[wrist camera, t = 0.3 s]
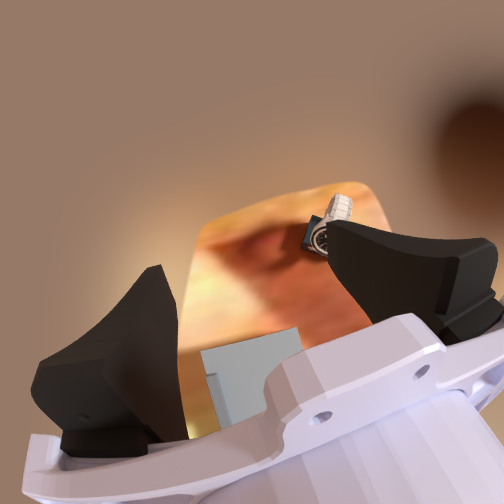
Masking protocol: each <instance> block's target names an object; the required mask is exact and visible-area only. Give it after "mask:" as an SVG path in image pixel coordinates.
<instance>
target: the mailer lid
mask: <svg viewBox="0 0 504 504" xmlns="http://www.w3.org/2000/svg"><path fill="white" fill-rule="evenodd" d="M302 350H303V348H302V344H301V341H300V337H299V333H298V330H297V327H294V328H291V329H287V330H284V331H280V332H276V333H273V334H269V335H265V336H261V337H257V338H254V339H250V340H246V341H242V342H237V343H233V344H229V345H225V346H220V347H216V348H212V349H207V350H202V351H200V353H201V357H202V360H203V364H204V368H205V372H206V375H207V376H206V381H207V384H208V388H209V391H210V395H211V398H212V402H213V405H214V408H215V412H216V415H217V418H218V421H219V425H220V428H221V429H224V428H226V427H229V426H231V425H234V424H236V423H238V422H241V421H243V420H245V419H248V418H250V417H252V416H254V415H257V414H259V413H261V412H263V411H265V410H267V409H266V401H265V397H264V394H263V389H264V384H265V379H266V377H267V376H268V375H269V374H270V373H271V372H272V371H273V370H274V369H275V368H276V367H277V366H278V364H279V363H280V362H281V361H282V360H284V359H286V358H288V357H290V356H292V355H294V354H296V353H298V352H300V351H302Z"/></svg>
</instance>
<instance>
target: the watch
mask: <svg viewBox="0 0 504 504" xmlns="http://www.w3.org/2000/svg"><path fill="white" fill-rule="evenodd" d="M351 211H352V199H351V198H349V197H346V196H343V195H341V194H338V193H336V194H335V195H334V197H332V199H331V201H330V203H329V206H328V208H327V209H326V211H325V216H324V218H320V217H317V216H315V215H312V217H311V219H310V221H309V224H308V227H307V230H306V233H305V236H304V239H303V242H302V245H301V249H304V250H307V251H310V252H313V253H315V254H318V255H321V256H324V257H327V258H328V254H327V235H326V222H329V221H333V220H338V219H339V220H346V221H349V220H350V216H351Z"/></svg>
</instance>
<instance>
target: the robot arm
mask: <svg viewBox="0 0 504 504" xmlns="http://www.w3.org/2000/svg"><path fill="white" fill-rule="evenodd" d="M326 235H327V254H328V264H329V265H330V267H331V269H332V270H333V272H334V274H335V275H336V277H337V279H338V280H339V281H340V282H341V284H342V285H343V286H344V287H345V288H346V290H347V291H348V292H349V293H350V294H351V296H352V297H353V298H354V299H355V300H356V302H357V303H358V304H359V305H360V307H361V308H362V309H363V310H364V312H365V313H366V314H367V316H368V317H369V318H370V320H371V322H372V323H373V325H371V326H369V327H366V328H364V329H361V330H358V331H356V332H353V333H351V334H348V335H345V336H343V337H340V338H337V339H334V340H331V341H329V342H326V343H323V344H320V345H317V346H314V347H311V348H308V349H305V350H302V351H300V352H298V353H296V354H294V355H292V356H290V357H288V358H286V359H284V360H282V361H281V362H280V363H279V364H278V366H277V367H276V368H275V369H274V370H273V371H272V372H271V373H270V374H269V375H268V376H267V377H266V379H265V384H264V389H263V394H264V397H265V401H266V409H267V410H265V411H263V412H261V413H259V414H257V415H254V416H252V417H250V418H248V419H245V420H243V421H241V422H238V423H236V424H234V425H231V426H229V427H226V428H224V429H221V430H219V431H216V432H214V433H211V434H209V435H206V436H203V437H201V438H195V439H189V436H188V432H187V427H186V422H185V417H184V412H183V407H182V401H181V394H180V388H179V380H178V370H177V346H178V318H177V309H176V302H175V300H174V297H173V295H172V292H171V290H170V287H169V284H168V282H167V279H166V276H165V274H164V271H163V269H162V266H161V265H156V266H152V267H149V268H147V269H146V270H145V271H144V272H143V273H142V274H141V276H140V277H139V278H138V280H137V281H136V282H135V283H134V284H133V286H132V287H131V288H130V290H129V291H128V292H127V293H126V295H125V296H124V297H123V298H122V299H121V300H120V302H119V303H118V304H117V305H116V306H115V307H114V308H113V310H112V311H110V313H109V314H108V315H106V316H105V317H104V318H103V319H102V320H101V321H100V322H99V323H98V324H97V325H96V326H94V327H93V328H92V329H91V330H89V331H88V332H87V333H86V334H84V335H83V336H82V337H81V338H79V339H78V340H77V341H75V342H73V343H72V344H70V345H69V346H67V347H66V348H64V349H62V350H61V351H59V352H57V353H55V354H54V355H52V356H50V357H48V358H46V359H44V360H42V361H41V362H40V363H39V366H38V369H37V371H36V375H35V377H34V381H33V383H32V386H31V395H32V397H33V399H34V401H35V403H36V404H37V405H38V407H39V408H40V409H41V410H42V411H43V412H44V413H45V414H46V415H47V416H48V417H49V418H50V419H51V420H52V421H53V422H55V423H56V424H57V425H58V426H59V427H60V428H61V429H62V430H63V434H62V438H60V437H58V436H55V435H48V434H31V438H30V442H29V447H28V453H27V458H26V464H25V470H24V476H23V484H22V492H23V494H25V495H27V496H29V497H30V498H32V499H34V500H36V501H38V502H40V503H42V504H504V448H503V446H502V445H501V443H500V442H499V440H498V439H497V437H496V436H495V435H494V433H493V432H492V430H491V429H490V428H489V426H488V425H487V424H486V422H485V421H484V419H483V418H482V417H481V415H480V414H479V412H480V411H481V410H482V409H483V408H484V407H485V406H486V405H487V404H488V403H490V402H491V401H492V400H493V399H494V398H495V397H496V396H497V395H498V394H499V393H500V392H501V391H502V390H503V389H504V296H503V297H502V298H501V299H500V301H499V302H498V301H497V300H496V299H495V298H493V297H495V294H496V293H495V291H494V290H493V289H491V288H490V287H491V284H492V281H493V278H494V274H495V270H496V267H497V262H498V252H497V247H496V246H495V245H494V244H493V243H492V242H490V241H488V240H487V239H485V238H472V239H459V240H443V239H428V238H418V237H411V236H405V235H400V234H395V233H391V232H387V231H383V230H379V229H375V228H372V227H368V226H365V225H361V224H358V223H354V222H350V221H346V220H339V219H338V220H333V221H329V222H326Z"/></svg>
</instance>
